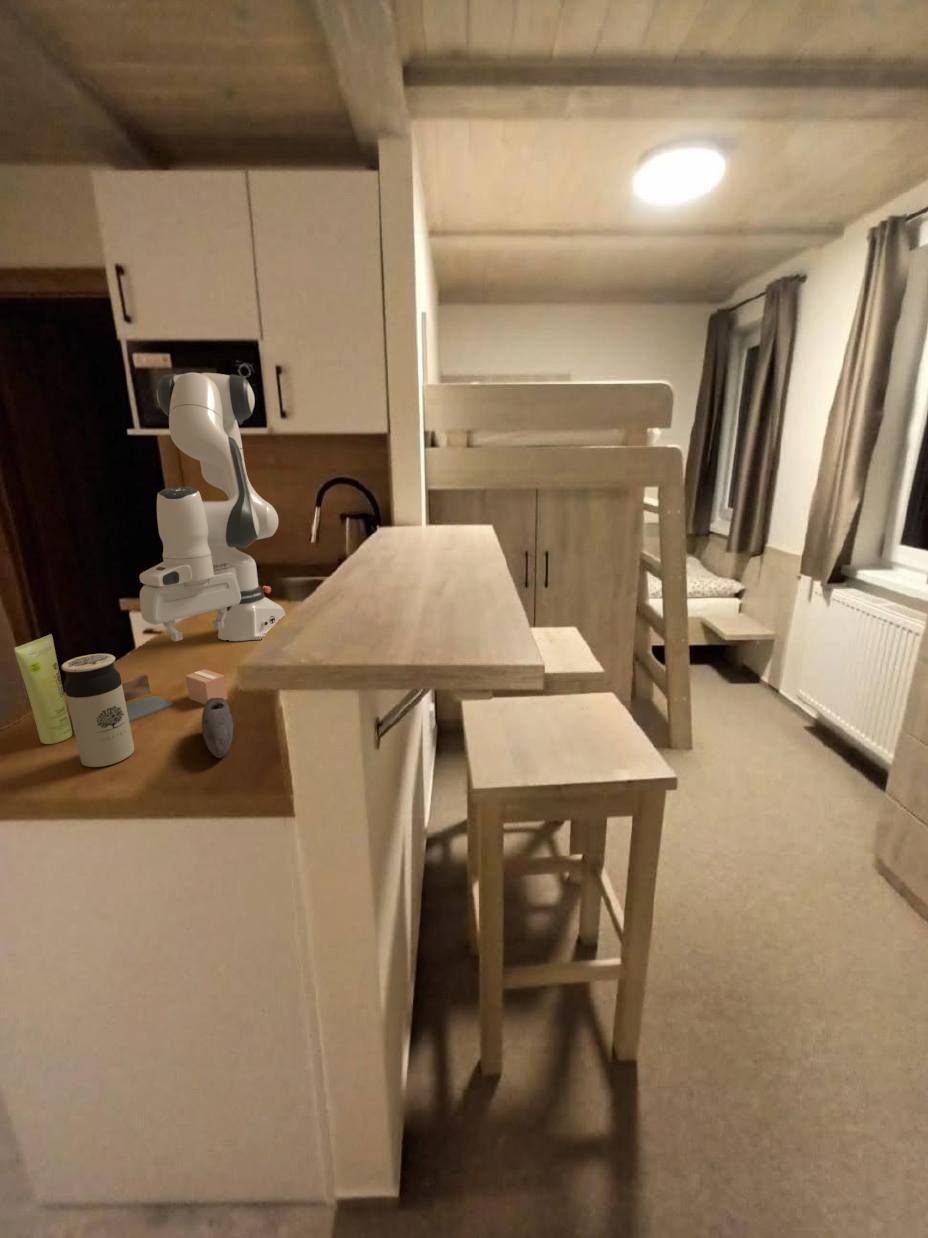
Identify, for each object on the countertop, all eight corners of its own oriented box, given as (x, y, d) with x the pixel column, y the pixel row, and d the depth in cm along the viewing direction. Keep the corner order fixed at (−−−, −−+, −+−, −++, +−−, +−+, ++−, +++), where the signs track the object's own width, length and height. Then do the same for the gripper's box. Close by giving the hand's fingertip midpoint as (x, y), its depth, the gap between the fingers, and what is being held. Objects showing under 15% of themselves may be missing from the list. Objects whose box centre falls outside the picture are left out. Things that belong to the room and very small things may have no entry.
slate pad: (153, 697, 119) (153, 695, 119) (173, 705, 116) (173, 703, 116) (105, 714, 111) (105, 712, 111) (124, 723, 108) (124, 722, 107)
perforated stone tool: (235, 763, 94) (230, 726, 92) (202, 769, 92) (196, 732, 90) (234, 725, 107) (230, 692, 105) (205, 730, 105) (200, 697, 103)
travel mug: (77, 756, 96) (55, 661, 91) (127, 740, 101) (110, 649, 96) (87, 774, 90) (64, 674, 85) (140, 756, 96) (122, 661, 91)
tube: (72, 741, 101) (50, 642, 95) (38, 749, 98) (13, 647, 93) (73, 729, 105) (51, 633, 100) (41, 736, 103) (16, 638, 97)
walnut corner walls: (147, 691, 122) (144, 674, 121) (182, 705, 116) (180, 687, 114) (75, 716, 111) (71, 698, 109) (110, 733, 104) (106, 714, 103)
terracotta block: (208, 691, 123) (204, 668, 121) (227, 698, 119) (224, 674, 117) (189, 699, 119) (185, 675, 117) (208, 706, 115) (205, 681, 114)
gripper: (225, 560, 121) (232, 620, 125) (130, 576, 104) (142, 644, 108) (243, 563, 118) (250, 624, 121) (148, 580, 101) (160, 650, 105)
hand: (198, 634), depth 115 cm, fingers open, 8 cm apart
